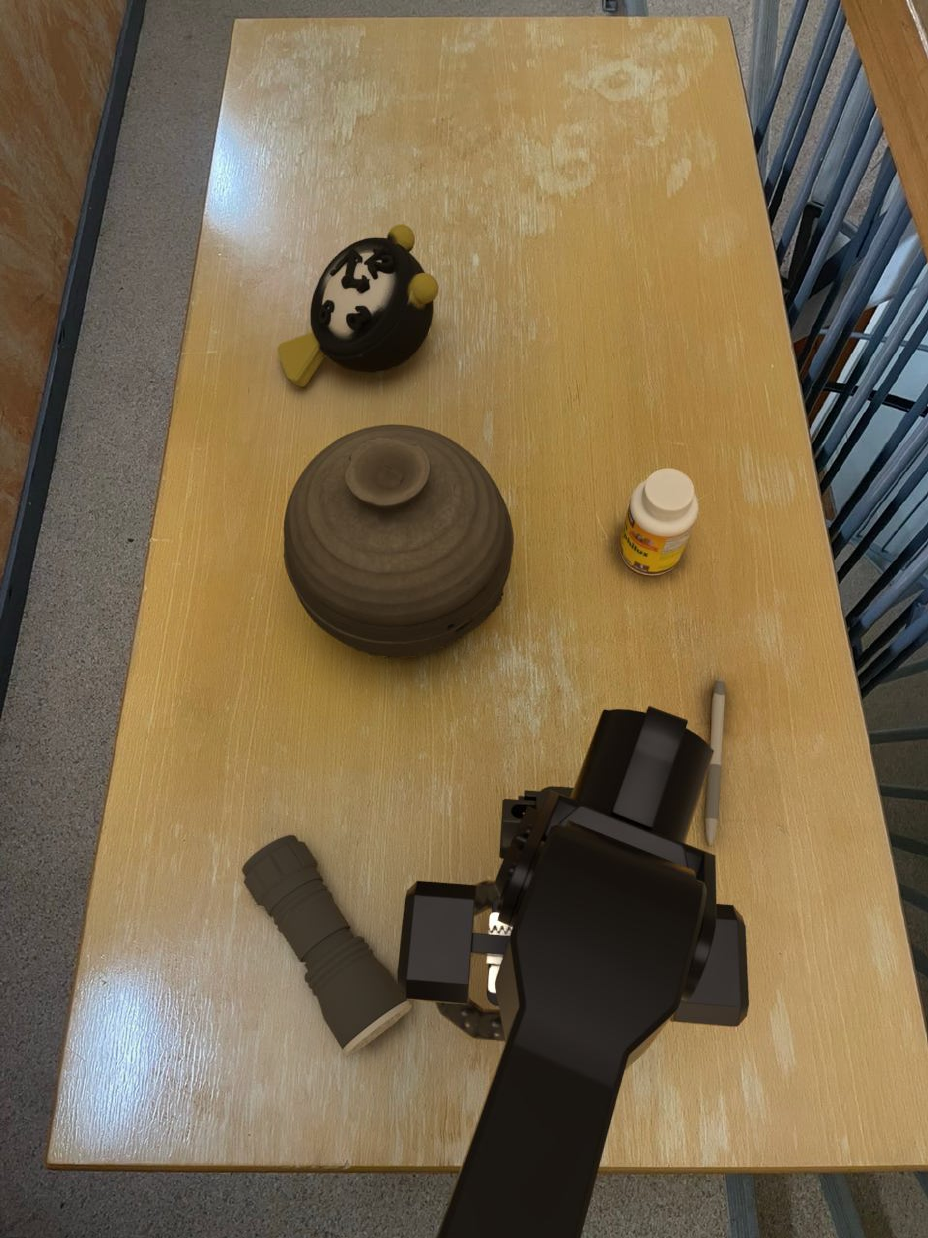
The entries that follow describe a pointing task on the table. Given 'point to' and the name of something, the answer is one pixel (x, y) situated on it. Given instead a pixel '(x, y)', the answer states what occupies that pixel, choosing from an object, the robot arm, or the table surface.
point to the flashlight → (325, 944)
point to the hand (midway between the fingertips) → (560, 963)
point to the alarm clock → (366, 309)
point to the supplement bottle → (658, 522)
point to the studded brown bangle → (469, 1015)
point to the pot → (397, 541)
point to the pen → (715, 761)
